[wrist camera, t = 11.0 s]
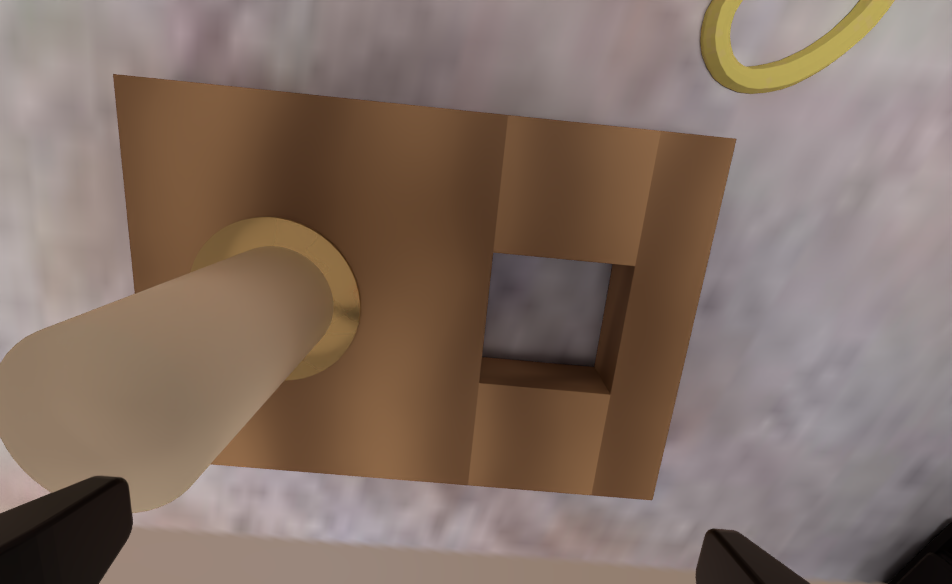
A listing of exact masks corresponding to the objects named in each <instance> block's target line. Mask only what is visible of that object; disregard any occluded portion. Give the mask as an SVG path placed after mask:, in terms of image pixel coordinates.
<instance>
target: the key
mask: <svg viewBox="0 0 952 584" xmlns="http://www.w3.org/2000/svg"><path fill="white" fill-rule="evenodd" d="M741 2H742V0H712V2H711V3H710V5H709V7H708V9H707V11H706V13H705V16H704V20H703V24H702V28H701V38H700V44H701V52H702V56H703V59H704V62H705V64H706V67H707V69H708V70H709V72H710V73H711V75H712V77H713V78H714V79H715V80H716V81H718V82H719V83H720V84H721V85H723V86H724V87H727V88H729V89H731V90H734V91H736V92H740V93H749V94H754V93H767V92H771V91H776V90H781V89H784V88H787V87H789V86H792V85H795V84H797V83H799V82H801V81H803V80H805V79H807V78H809V77H810V76H812V75H814V74H816V73H817V72H819V71H820V70H822V69H824V68H825V67H827V66H828V65H830V64H831V63H832V62H834V61H835V60H836V59H838V58H839V57H840V56H842V55H843V54H844V53H845V52H847V51H848V50H849V49H850V48H851V47H853V46H854V45H855V44H856V43H857V42H858V41H860V40H861V39H862V38H863V37H864V36H865V35H866V34H867V33H868V32H869V31H870V30H871V29H872V28H873V27H874V26H875V25H876V24H877V23H878V22H879V20H880V19H881V18H882V17H883V15H884V14H885V13H886V12H887V10H888V9H889V8H890V6H891V5H892V3H893V2H894V0H860V1H859V2H858V3H857V4H856V6H855V7H854V8H853V10H852V11H851V12H850V13H849V14H848V15H847V16H846V17H845V18H844V19H843V20H842V21H841V22H840V23H839V24H837V25H836V26H835V27H834V28H833V29H832V30H831V31H830V32H828V33H827V34H826V35H824V36H823V37H822V38H820V39H819V40H817V41H816V42H814V43H813V44H811V45H810V46H808V47H807V48H805V49H804V50H802V51H799V52H797V53H795V54H793V55H791V56H789V57H787V58H784V59H782V60H780V61H776V62H772V63H768V64H763V65H758V66H749V67H745V66H743V65H742V64H741V63H739V62H738V61H737V60H736V58H735V57H734V55H733V52H732V48H731V42H730V29H731V23H732V20H733V17H734V14H735V12H736V10H737V8H738V7H739V5H740V4H741Z"/></svg>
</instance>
